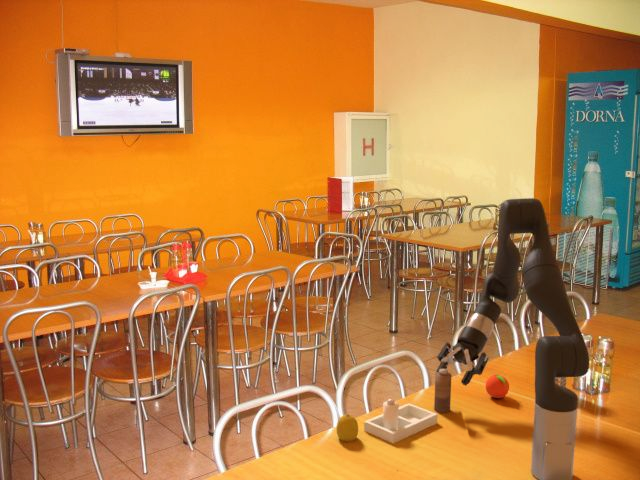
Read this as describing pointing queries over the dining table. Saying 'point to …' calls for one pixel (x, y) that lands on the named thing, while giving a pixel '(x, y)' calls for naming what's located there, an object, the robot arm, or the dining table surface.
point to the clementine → (497, 386)
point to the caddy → (402, 423)
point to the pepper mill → (442, 391)
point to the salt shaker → (390, 415)
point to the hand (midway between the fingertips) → (450, 379)
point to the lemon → (347, 428)
